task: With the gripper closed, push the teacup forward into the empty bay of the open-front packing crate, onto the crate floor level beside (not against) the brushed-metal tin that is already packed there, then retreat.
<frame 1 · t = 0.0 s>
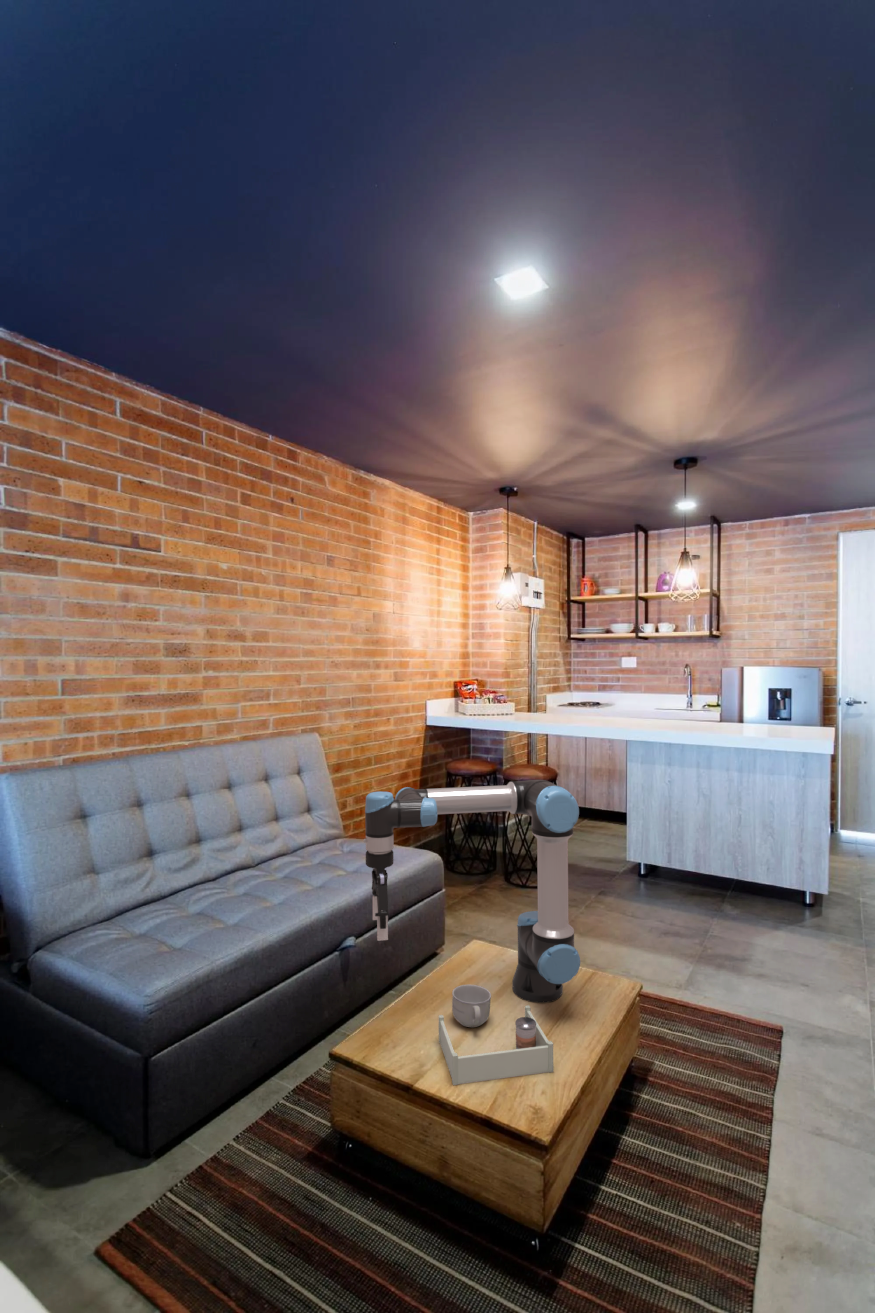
hand: (379, 929, 173), 28 cm above the table, fingers open, 13 cm apart
teacup: (471, 1025, 177), on the table
crate: (493, 1056, 162), on the table
tin can: (526, 1054, 163), on the table
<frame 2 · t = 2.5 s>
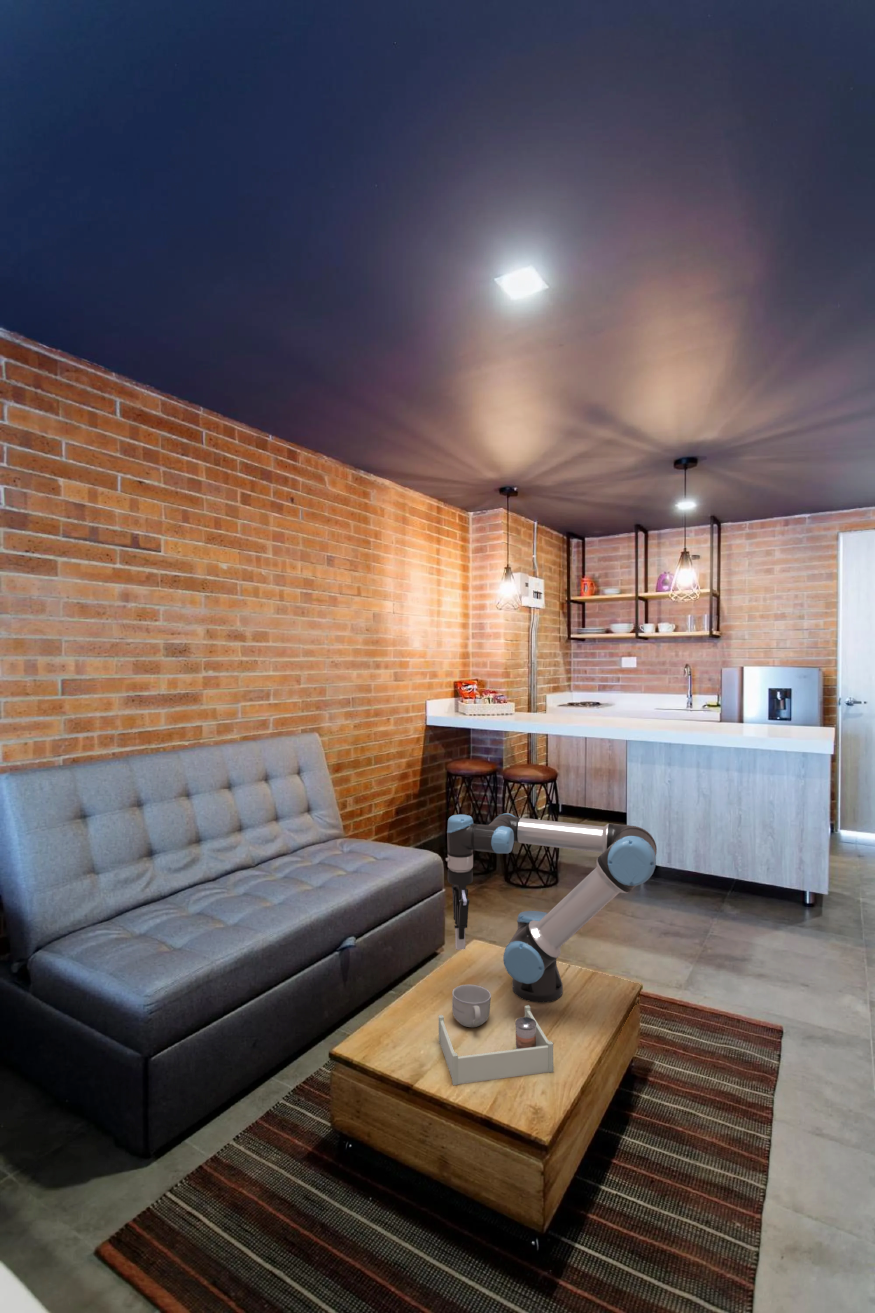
hand: (460, 948, 190), 15 cm above the table, fingers closed
nothing on the table moved.
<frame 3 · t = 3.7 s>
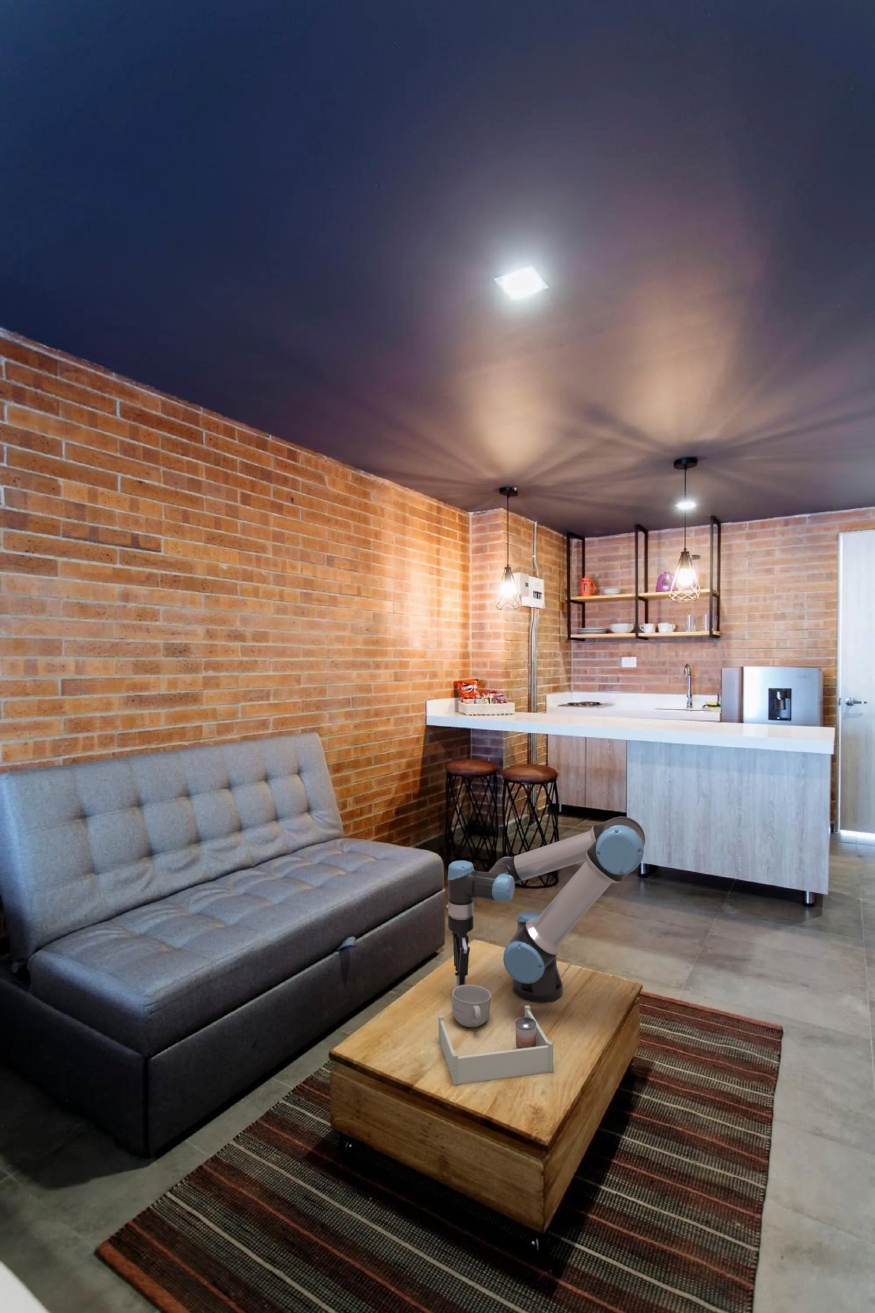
hand: (460, 995, 190), 1 cm above the table, fingers closed
nothing on the table moved.
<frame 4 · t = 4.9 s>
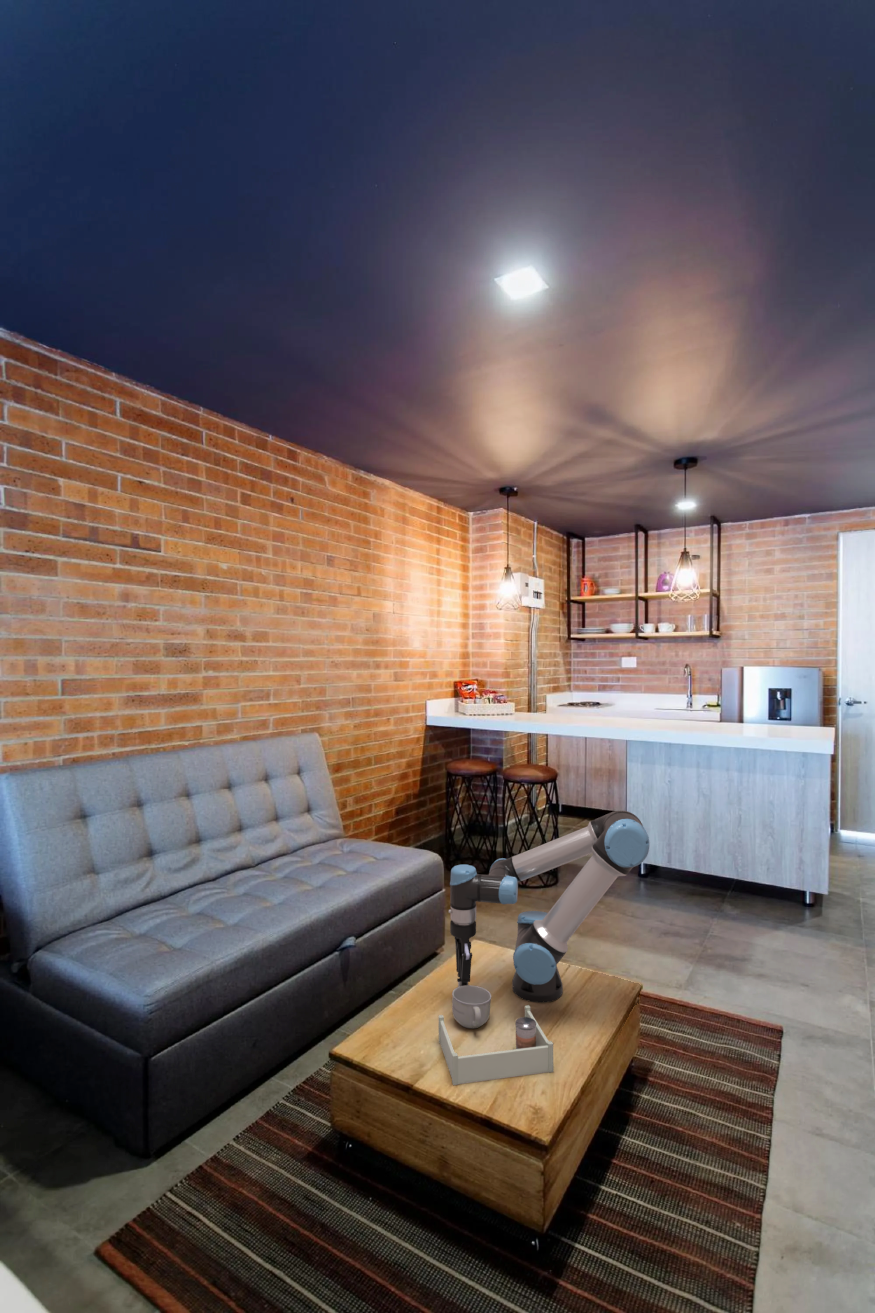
hand: (463, 1001, 186), 1 cm above the table, fingers closed
teacup: (472, 1026, 176), on the table, touching gripper
everything else where it was.
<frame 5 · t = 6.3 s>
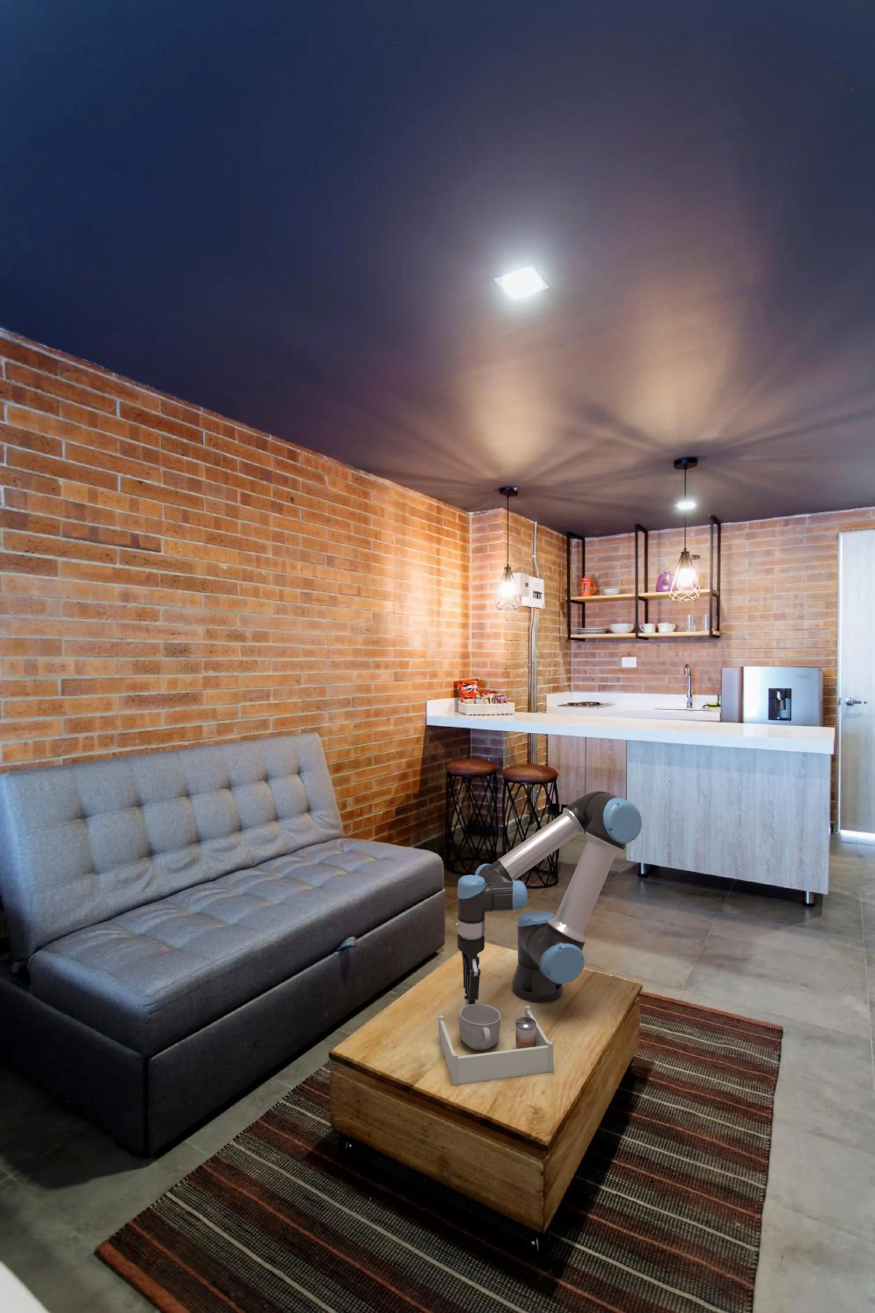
hand: (470, 1020, 176), 1 cm above the table, fingers closed
teacup: (480, 1047, 166), on the table, touching gripper
everything else where it was.
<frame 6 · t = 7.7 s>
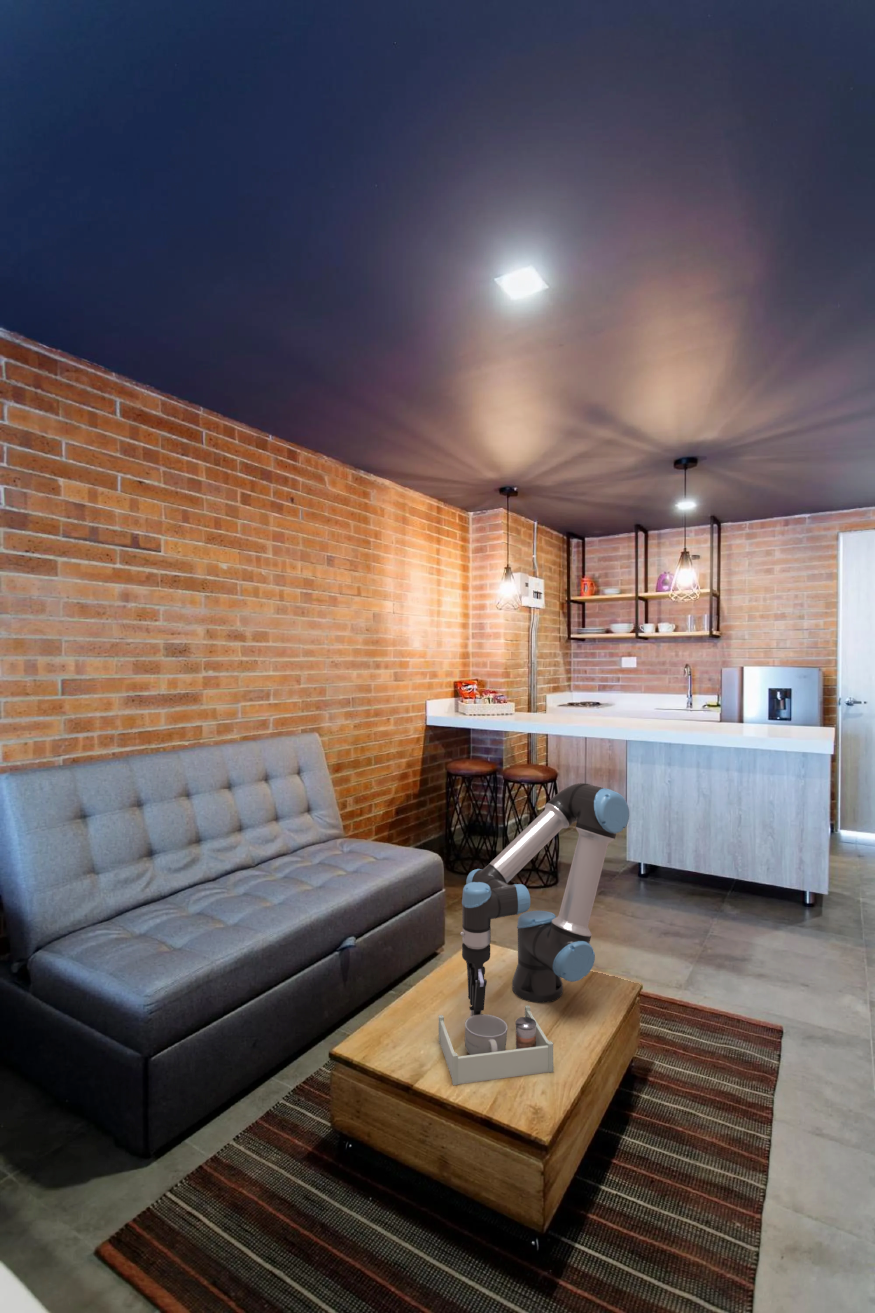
hand: (475, 1031, 171), 1 cm above the table, fingers closed
teacup: (486, 1060, 161), on the table, touching crate, gripper
everything else where it was.
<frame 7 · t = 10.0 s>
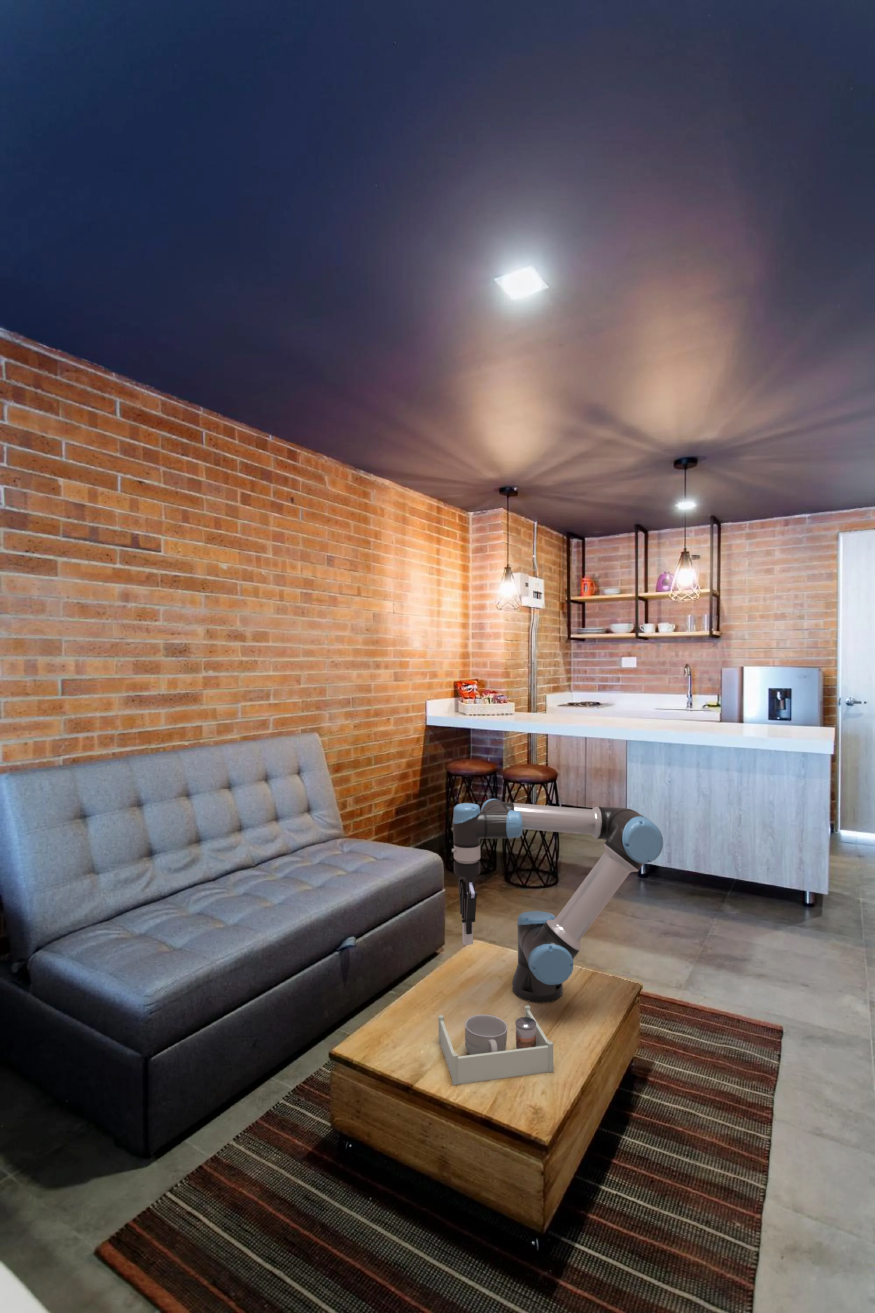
hand: (467, 943, 180), 21 cm above the table, fingers closed
teacup: (486, 1060, 161), on the table
everything else where it was.
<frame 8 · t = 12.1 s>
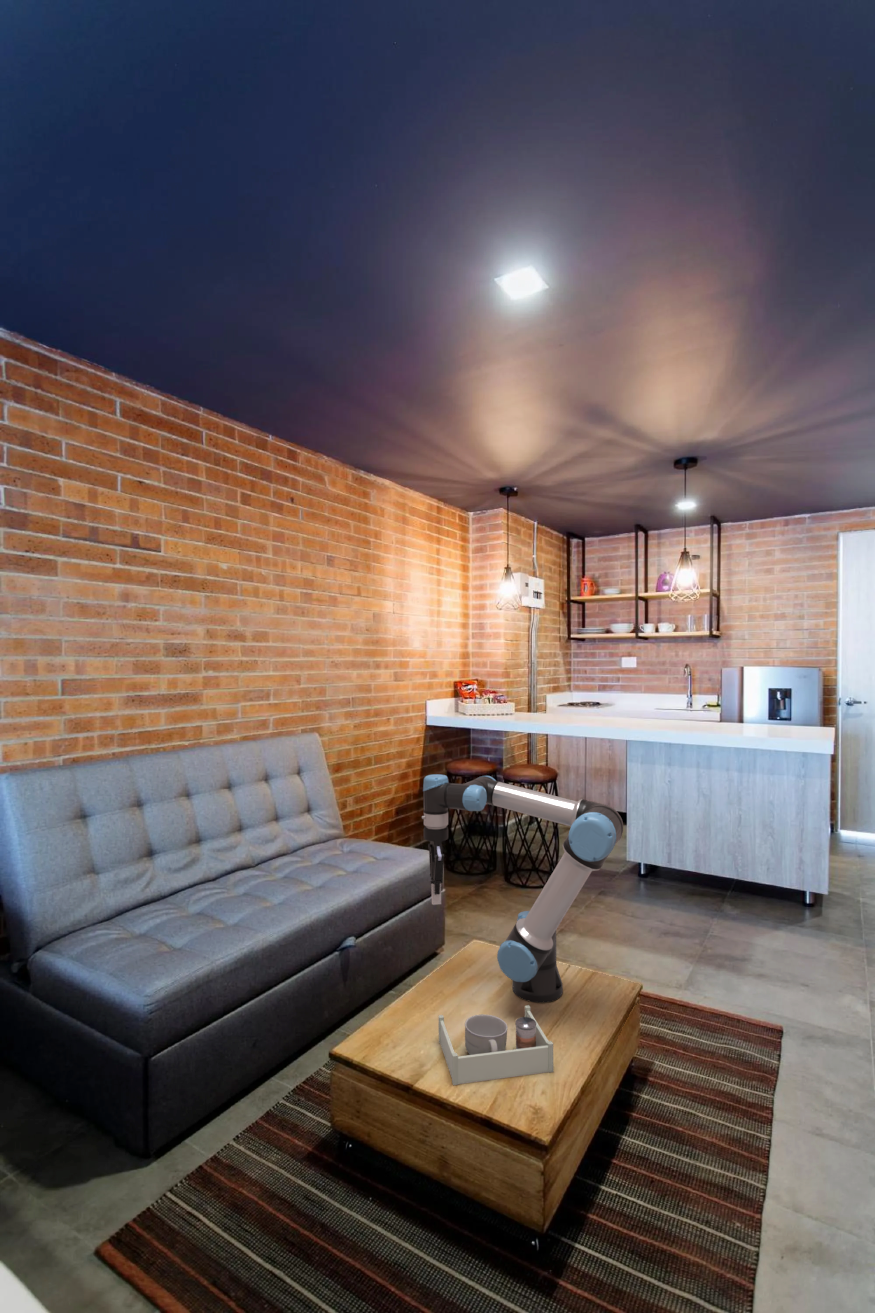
hand: (436, 903, 196), 26 cm above the table, fingers closed
nothing on the table moved.
at the end: teacup inside the target area (1.1 cm from its centre), on the table; teacup tilted 0°; teacup touching table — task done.
